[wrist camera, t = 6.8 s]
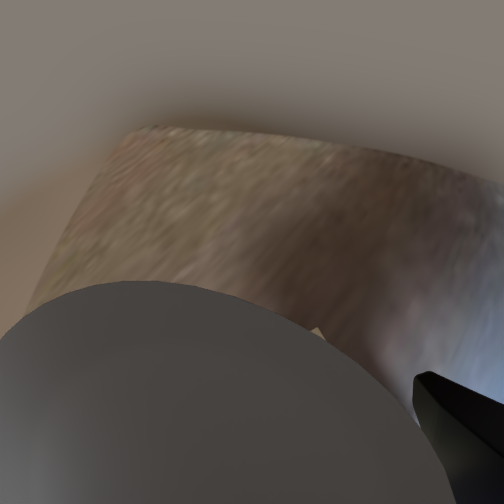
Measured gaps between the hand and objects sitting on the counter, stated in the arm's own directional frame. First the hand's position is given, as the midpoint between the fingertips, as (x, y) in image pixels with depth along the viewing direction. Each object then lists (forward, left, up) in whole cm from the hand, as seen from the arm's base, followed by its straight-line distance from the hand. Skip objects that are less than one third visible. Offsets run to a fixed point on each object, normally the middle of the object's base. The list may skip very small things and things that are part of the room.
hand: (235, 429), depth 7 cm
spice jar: (-1, 0, -8) cm, 8 cm away
